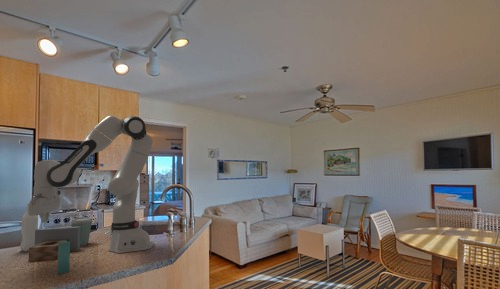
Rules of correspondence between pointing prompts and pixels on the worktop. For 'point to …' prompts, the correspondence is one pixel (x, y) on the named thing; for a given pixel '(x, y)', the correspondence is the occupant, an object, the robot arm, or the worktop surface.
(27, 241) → the water bottle
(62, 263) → the dowel
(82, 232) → the disposable coffee cup
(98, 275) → the worktop surface
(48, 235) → the wall
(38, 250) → the socket block
